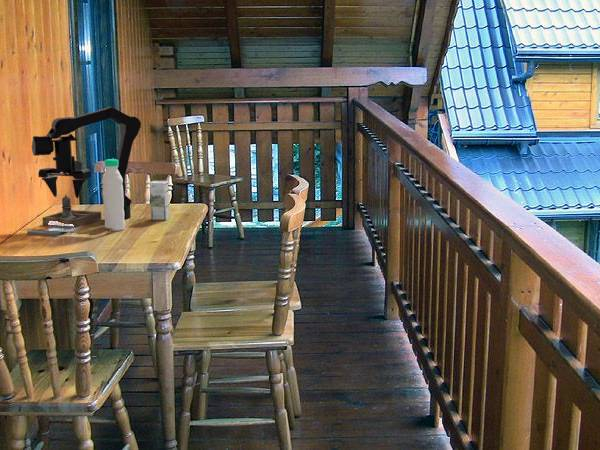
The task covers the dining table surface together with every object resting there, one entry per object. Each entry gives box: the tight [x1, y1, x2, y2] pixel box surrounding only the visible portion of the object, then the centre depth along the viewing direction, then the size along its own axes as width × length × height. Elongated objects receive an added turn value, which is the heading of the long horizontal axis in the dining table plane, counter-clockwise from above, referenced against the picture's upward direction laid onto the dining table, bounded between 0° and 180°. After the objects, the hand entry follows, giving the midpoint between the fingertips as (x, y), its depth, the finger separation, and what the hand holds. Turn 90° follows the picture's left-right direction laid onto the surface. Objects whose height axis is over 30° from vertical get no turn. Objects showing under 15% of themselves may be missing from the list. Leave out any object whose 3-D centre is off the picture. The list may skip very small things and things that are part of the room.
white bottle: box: [101, 158, 126, 232], centre depth 293 cm, size 7×7×25 cm
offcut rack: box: [41, 209, 102, 228], centre depth 303 cm, size 14×16×4 cm
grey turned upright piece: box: [59, 194, 76, 219], centre depth 299 cm, size 6×6×12 cm
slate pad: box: [26, 229, 68, 237], centre depth 290 cm, size 12×8×1 cm
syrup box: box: [149, 180, 170, 221], centre depth 312 cm, size 6×6×14 cm
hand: (66, 197), depth 298 cm, fingers open, 9 cm apart
